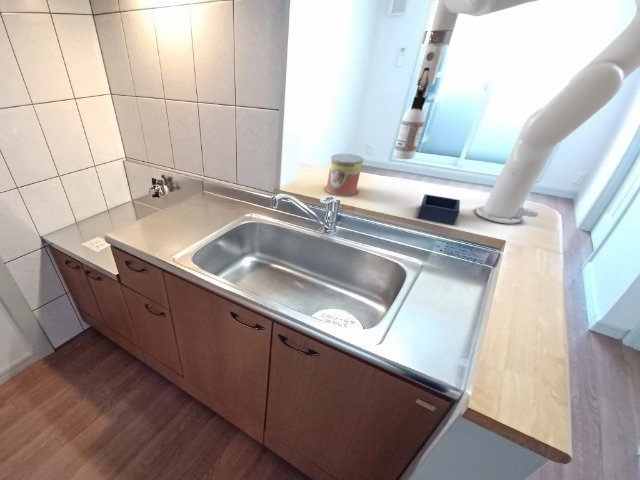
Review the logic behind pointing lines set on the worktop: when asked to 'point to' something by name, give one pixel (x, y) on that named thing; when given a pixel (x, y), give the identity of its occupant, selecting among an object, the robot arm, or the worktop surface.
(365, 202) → the worktop surface
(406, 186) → the worktop surface
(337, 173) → the canned food
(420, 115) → the bath foam
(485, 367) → the worktop surface
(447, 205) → the holder
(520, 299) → the worktop surface
